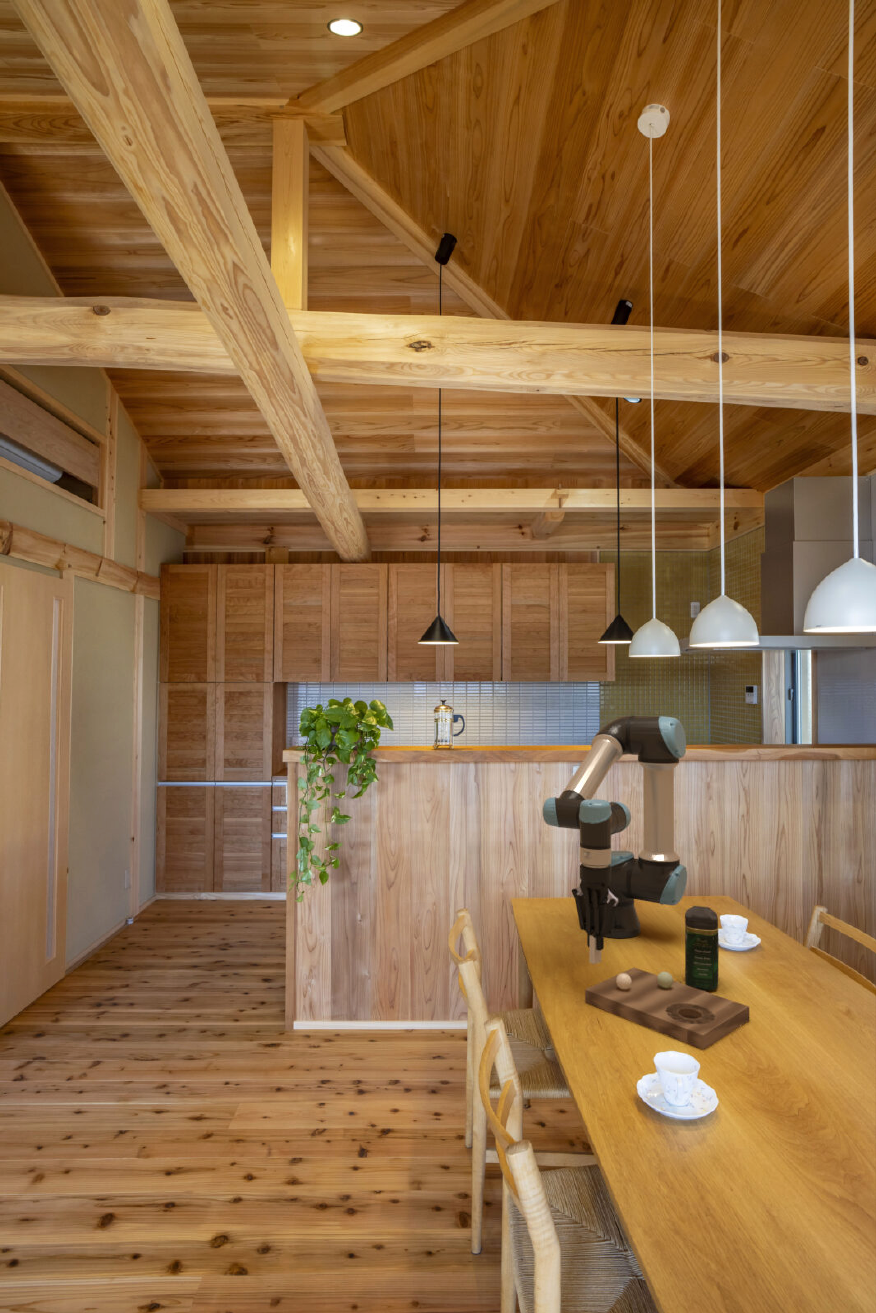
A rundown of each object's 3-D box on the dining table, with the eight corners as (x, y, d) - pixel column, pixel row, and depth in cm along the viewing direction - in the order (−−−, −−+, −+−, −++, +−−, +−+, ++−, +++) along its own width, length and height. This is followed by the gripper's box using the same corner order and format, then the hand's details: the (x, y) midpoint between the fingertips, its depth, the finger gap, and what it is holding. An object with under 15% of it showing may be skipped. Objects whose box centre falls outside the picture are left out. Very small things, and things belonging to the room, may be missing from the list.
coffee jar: (719, 994, 181) (718, 916, 181) (684, 989, 183) (684, 913, 184) (718, 978, 190) (717, 905, 190) (685, 974, 192) (684, 902, 193)
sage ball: (654, 987, 178) (654, 971, 178) (662, 983, 180) (662, 968, 180) (667, 992, 175) (667, 976, 175) (676, 987, 177) (676, 972, 177)
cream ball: (613, 988, 177) (612, 973, 177) (622, 984, 179) (621, 969, 179) (626, 993, 174) (625, 978, 174) (634, 989, 176) (634, 973, 177)
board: (585, 1002, 176) (584, 989, 176) (634, 979, 190) (633, 967, 190) (703, 1049, 154) (703, 1035, 154) (749, 1020, 167) (749, 1006, 167)
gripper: (564, 861, 186) (564, 958, 185) (608, 871, 176) (608, 973, 175) (583, 857, 191) (583, 951, 190) (626, 866, 181) (627, 966, 180)
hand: (595, 962), depth 182 cm, fingers closed
